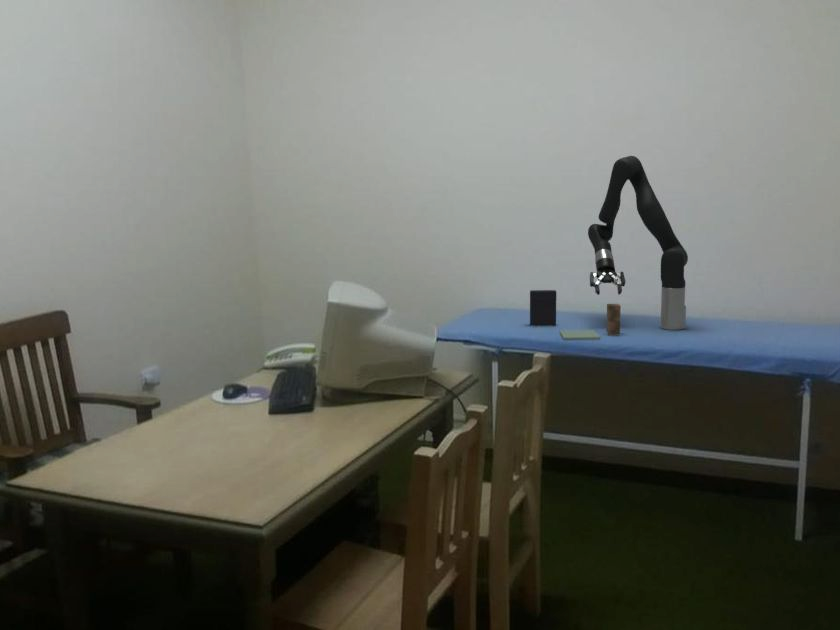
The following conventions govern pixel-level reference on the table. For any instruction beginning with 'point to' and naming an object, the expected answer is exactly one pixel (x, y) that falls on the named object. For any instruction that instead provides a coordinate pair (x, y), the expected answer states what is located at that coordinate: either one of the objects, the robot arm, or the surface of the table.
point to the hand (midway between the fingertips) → (609, 293)
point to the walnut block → (613, 319)
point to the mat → (579, 335)
